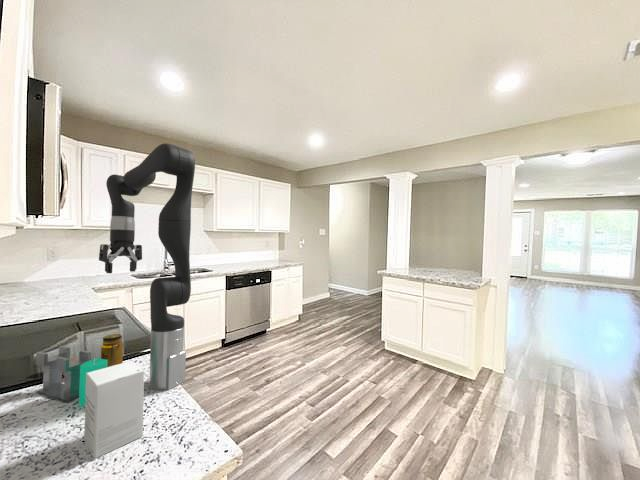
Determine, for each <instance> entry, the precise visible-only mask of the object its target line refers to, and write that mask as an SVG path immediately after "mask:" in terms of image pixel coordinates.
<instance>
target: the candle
mask: <svg viewBox="0 0 640 480" xmlns="http://www.w3.org/2000/svg"><path fill="white" fill-rule="evenodd" d="M93 357H94V358H93V359H91V360H90V361H87V362H85V363H83V364H82V365H81V366H80V386H79V398H78V406H80V407H81V408H85V397H86V373H88V372H92V371H96V370H99V369H103V368H107V362H108V360H105V359H101V357H100V358H95V356H93Z"/></svg>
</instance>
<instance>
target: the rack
mask: <svg viewBox="0 0 640 480" xmlns="http://www.w3.org/2000/svg"><path fill="white" fill-rule="evenodd" d="M48 355H49V354H48V353H47V352H43V351H36V352H35V365H36V366H40V367H43V377H42V388H40V389H38V390H36V391H37V393H36V394H39V395H42V396H45V397H48V398H50V399H53V400H56V401H59V402H62V403H65V404H69V403H71V402H73V401H75V400H79V386H80V366H81V365H82V364H83V363H85V362H87V361H90V360H92V351H88V350H83V349H82V350H79V358H78V359H79V360H76V361H72V362H69V359H71V346H66V345H59V347H58V354H55V355H52V356H48ZM62 372H64V376H62ZM63 378H64V379H63Z"/></svg>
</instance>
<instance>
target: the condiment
mask: <svg viewBox="0 0 640 480" xmlns="http://www.w3.org/2000/svg"><path fill="white" fill-rule="evenodd" d="M122 337H123V335H122V334H120V333H119V334H118V333H115V334H114V333H113V334H109V335H106V336H105V335H104V337H103V338H102V345H101V348H100V352H101V353H100V359H105V360H108V362H107V367H110V366H114V365H118V364H121V363H124V362H123V358H124V343H123V338H122Z"/></svg>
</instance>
